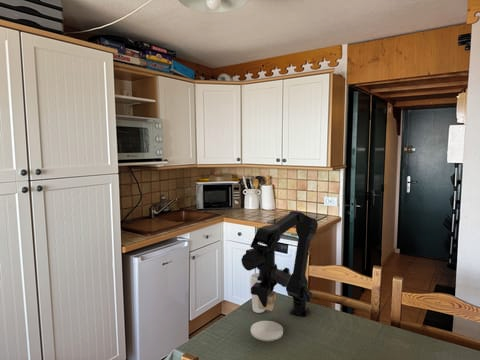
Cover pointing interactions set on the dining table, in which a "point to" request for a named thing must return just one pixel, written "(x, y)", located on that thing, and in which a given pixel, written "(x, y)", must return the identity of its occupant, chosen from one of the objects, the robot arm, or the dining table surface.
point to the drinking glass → (255, 297)
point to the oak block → (269, 302)
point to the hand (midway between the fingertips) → (267, 303)
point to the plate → (266, 330)
